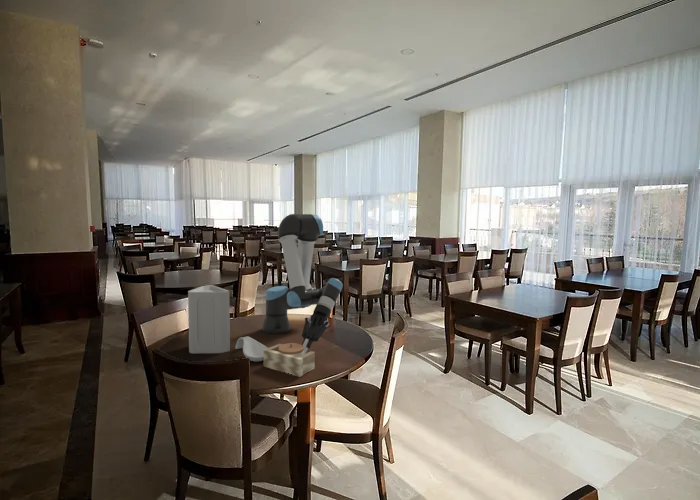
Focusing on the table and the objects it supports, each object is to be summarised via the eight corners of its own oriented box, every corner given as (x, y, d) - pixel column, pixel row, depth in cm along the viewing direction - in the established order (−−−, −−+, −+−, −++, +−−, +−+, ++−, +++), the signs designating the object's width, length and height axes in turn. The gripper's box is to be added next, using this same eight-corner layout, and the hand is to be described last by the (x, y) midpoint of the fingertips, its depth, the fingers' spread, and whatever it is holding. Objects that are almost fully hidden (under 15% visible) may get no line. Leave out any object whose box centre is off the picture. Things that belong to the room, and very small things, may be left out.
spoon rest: (276, 360, 167) (276, 344, 166) (251, 367, 159) (251, 350, 158) (250, 346, 184) (250, 331, 184) (227, 351, 177) (227, 336, 176)
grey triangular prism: (181, 347, 180) (180, 288, 178) (212, 340, 190) (211, 284, 188) (198, 358, 166) (197, 295, 164) (230, 350, 177) (230, 291, 174)
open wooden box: (263, 366, 160) (263, 350, 159) (279, 358, 168) (279, 343, 168) (299, 377, 150) (299, 359, 149) (314, 368, 159) (314, 352, 158)
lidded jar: (306, 360, 166) (306, 339, 165) (300, 371, 156) (300, 348, 155) (282, 359, 168) (282, 338, 167) (275, 369, 157) (274, 347, 156)
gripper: (338, 314, 178) (317, 360, 165) (315, 310, 184) (293, 354, 172) (332, 305, 173) (310, 352, 160) (309, 301, 179) (286, 346, 166)
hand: (302, 353), depth 166 cm, fingers closed
